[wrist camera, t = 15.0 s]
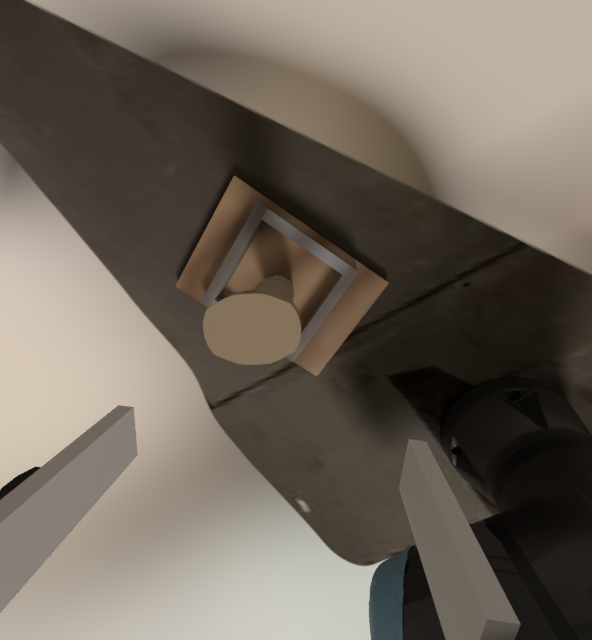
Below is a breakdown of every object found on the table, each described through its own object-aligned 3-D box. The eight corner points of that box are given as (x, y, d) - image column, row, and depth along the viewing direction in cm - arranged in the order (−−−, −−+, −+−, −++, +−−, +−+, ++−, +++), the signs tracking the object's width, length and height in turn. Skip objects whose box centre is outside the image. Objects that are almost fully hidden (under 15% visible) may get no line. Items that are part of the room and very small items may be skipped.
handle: (249, 268, 33) (197, 296, 19) (306, 265, 32) (298, 290, 18) (254, 310, 34) (209, 366, 20) (309, 307, 34) (303, 362, 19)
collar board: (386, 281, 34) (393, 286, 30) (316, 372, 37) (316, 384, 34) (237, 177, 32) (228, 171, 28) (179, 284, 35) (166, 289, 32)
